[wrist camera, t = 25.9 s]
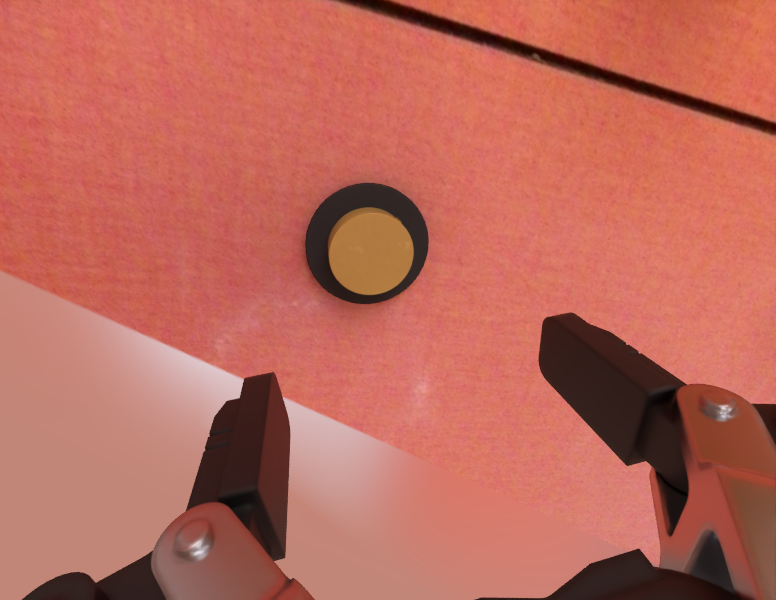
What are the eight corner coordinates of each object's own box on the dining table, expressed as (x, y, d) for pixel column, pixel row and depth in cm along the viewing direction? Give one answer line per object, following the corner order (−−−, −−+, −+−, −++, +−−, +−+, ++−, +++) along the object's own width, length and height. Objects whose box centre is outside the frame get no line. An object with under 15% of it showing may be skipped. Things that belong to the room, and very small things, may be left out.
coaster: (370, 321, 30) (372, 324, 29) (279, 252, 26) (278, 255, 25) (449, 240, 28) (452, 242, 28) (364, 153, 24) (365, 154, 24)
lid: (366, 188, 25) (371, 192, 23) (423, 243, 27) (431, 250, 25) (310, 251, 26) (310, 260, 24) (370, 299, 28) (373, 310, 27)
